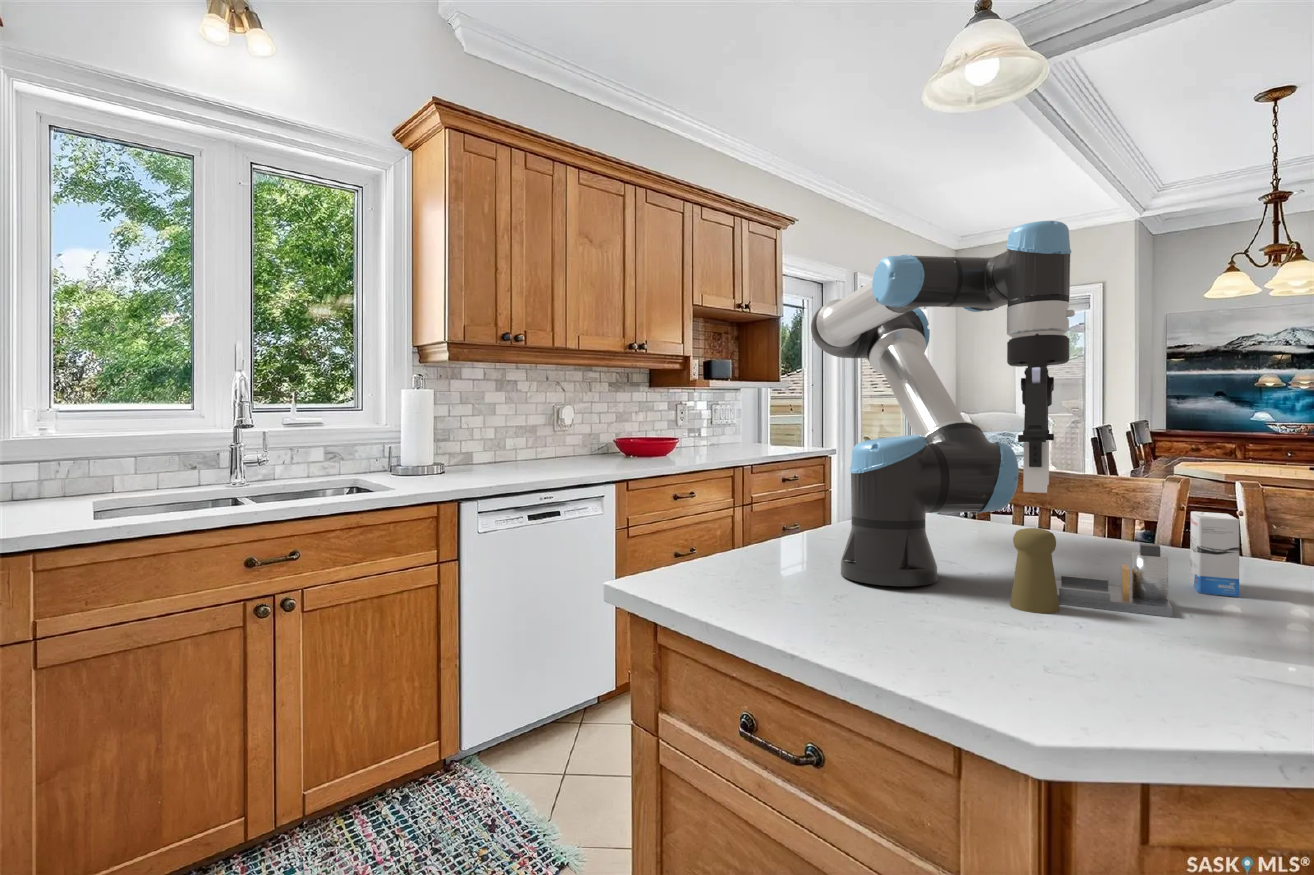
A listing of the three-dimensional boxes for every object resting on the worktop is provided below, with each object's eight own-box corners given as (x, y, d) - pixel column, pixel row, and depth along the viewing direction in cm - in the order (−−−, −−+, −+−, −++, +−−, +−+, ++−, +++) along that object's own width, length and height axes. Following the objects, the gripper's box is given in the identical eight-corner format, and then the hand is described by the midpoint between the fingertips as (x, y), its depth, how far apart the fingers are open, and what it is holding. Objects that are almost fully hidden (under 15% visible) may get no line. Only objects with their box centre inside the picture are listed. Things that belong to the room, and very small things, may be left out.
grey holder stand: (1040, 601, 94) (1040, 542, 94) (1044, 586, 103) (1044, 532, 103) (1172, 617, 86) (1172, 552, 86) (1163, 599, 95) (1163, 540, 95)
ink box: (1241, 598, 96) (1241, 518, 96) (1197, 594, 99) (1197, 516, 99) (1228, 586, 103) (1228, 512, 103) (1188, 583, 106) (1188, 510, 106)
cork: (1067, 614, 88) (1067, 532, 88) (1018, 612, 89) (1018, 531, 89) (1049, 603, 93) (1049, 526, 93) (1004, 601, 95) (1003, 525, 95)
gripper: (1070, 321, 79) (1069, 497, 79) (1068, 344, 100) (1067, 482, 100) (1000, 327, 83) (999, 494, 83) (1012, 347, 104) (1012, 480, 104)
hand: (1036, 488), depth 91 cm, fingers open, 13 cm apart
